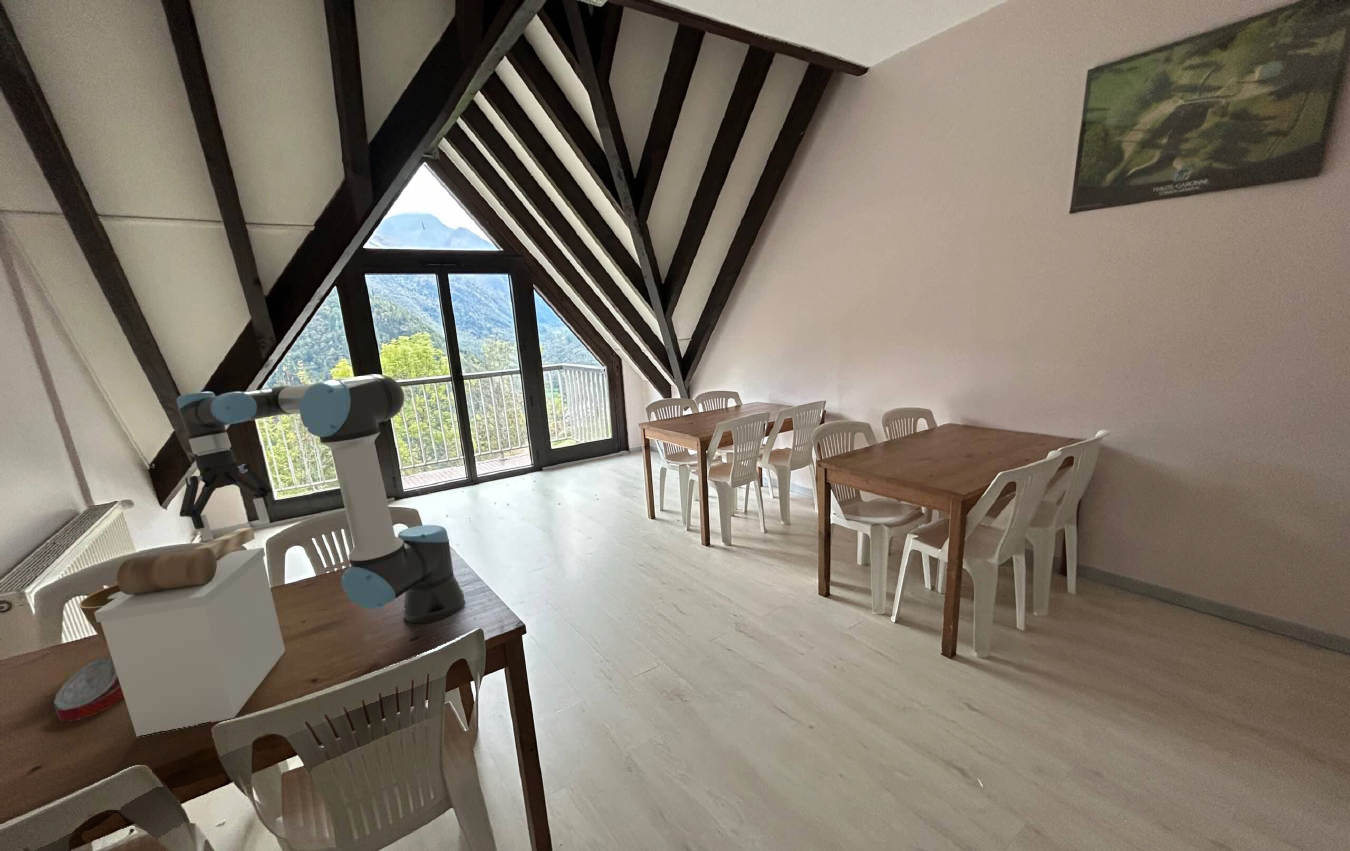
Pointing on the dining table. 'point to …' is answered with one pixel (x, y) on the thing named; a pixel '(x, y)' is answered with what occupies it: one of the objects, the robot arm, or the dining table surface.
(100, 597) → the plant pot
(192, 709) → the pedestal
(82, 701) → the canned food
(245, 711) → the dining table surface
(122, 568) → the mallet
